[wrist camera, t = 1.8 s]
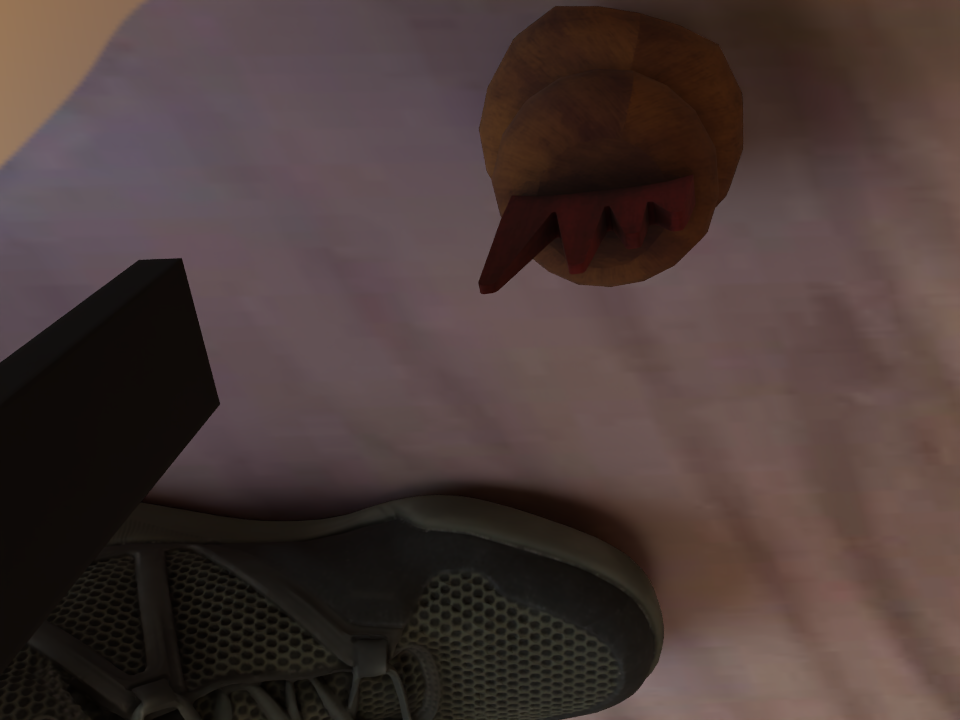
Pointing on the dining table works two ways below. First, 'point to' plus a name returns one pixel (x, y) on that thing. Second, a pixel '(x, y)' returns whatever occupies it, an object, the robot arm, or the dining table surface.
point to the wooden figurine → (607, 146)
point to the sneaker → (343, 620)
